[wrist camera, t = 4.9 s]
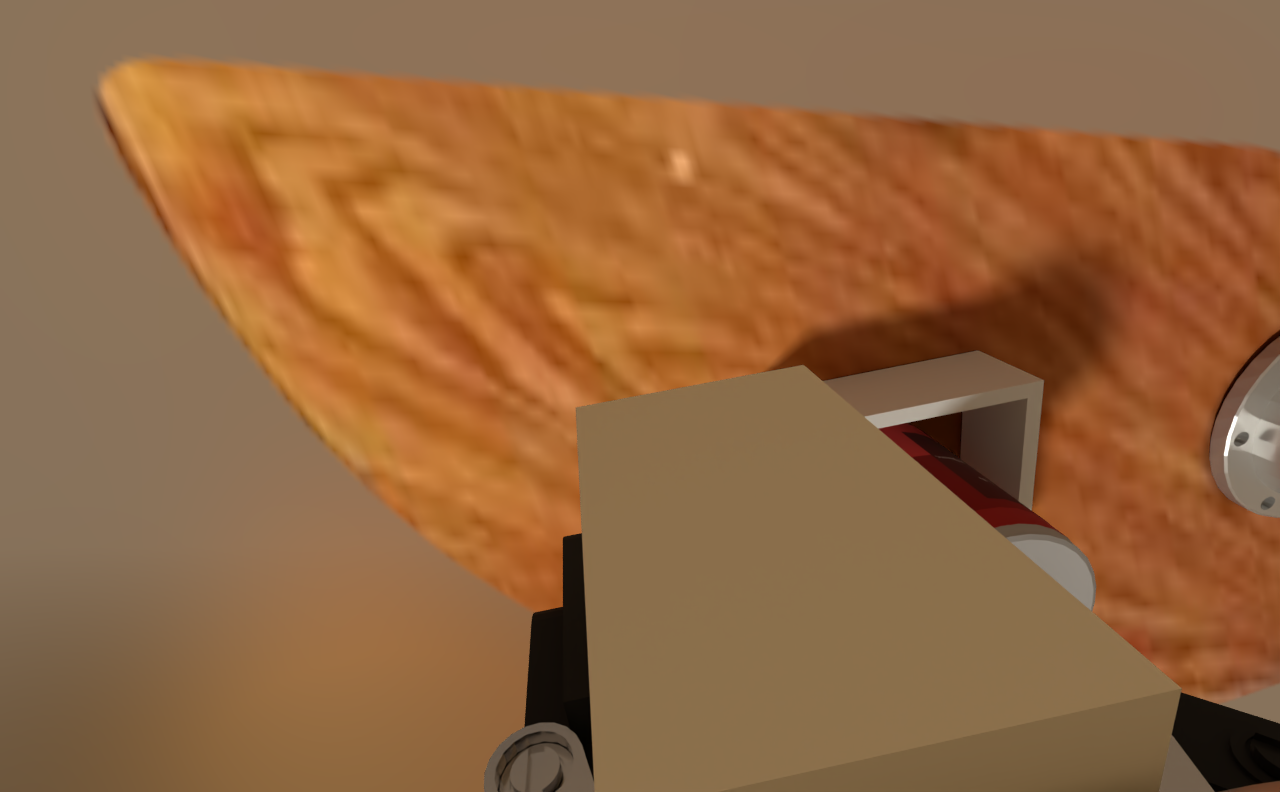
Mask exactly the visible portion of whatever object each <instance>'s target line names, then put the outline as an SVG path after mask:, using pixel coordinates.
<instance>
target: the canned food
mask: <svg viewBox="0 0 1280 792" xmlns="http://www.w3.org/2000/svg"><path fill="white" fill-rule="evenodd" d="M879 430H880V431H881V432H883V433H884V434H885V435H886V436H887V437H888V438H890V439H891V440H892V441H893V442H894V443H895V444H897V445H898V446H899V447H900V448H901V449H902V450H904V451H905V452H906V453H907V454H908V455H909V456H911V457H912V458H913V459H914V460H915V461H917V462H918V463H919V464H920V465H921V466H922V467H924V468H925V469H926V470H927V471H928V472H929V473H931V474H932V475H933V476H934V477H935V478H936V479H938V480H939V481H940V482H941V483H942V484H943V485H945V486H946V487H947V488H948V489H949V490H950V491H952V492H953V493H954V494H955V495H956V496H957V497H959V498H960V499H961V500H962V501H963V502H964V503H966V504H967V505H968V506H969V507H970V508H971V509H973V510H974V511H975V512H976V513H977V514H978V515H980V516H981V517H982V518H983V519H984V520H985V521H987V522H988V523H989V524H990V525H991V526H992V527H994V528H995V529H996V530H997V531H998V532H999V533H1001V534H1002V535H1003V536H1004V537H1005V538H1006V539H1008V540H1009V541H1010V542H1011V543H1012V544H1013V545H1015V546H1016V547H1017V548H1018V549H1019V550H1020V551H1022V552H1023V553H1024V554H1025V555H1026V556H1027V557H1029V558H1030V559H1031V560H1032V561H1033V562H1034V563H1036V564H1037V565H1038V566H1039V567H1040V568H1041V569H1043V570H1044V571H1045V572H1046V573H1047V574H1048V575H1050V576H1051V577H1052V578H1053V579H1054V580H1055V581H1057V582H1058V583H1059V584H1060V585H1061V586H1062V587H1064V588H1065V589H1066V590H1067V591H1068V592H1070V593H1071V594H1072V595H1073V596H1074V597H1075V598H1077V599H1078V600H1079V601H1080V602H1081V603H1082V604H1084V605H1085V606H1086V607H1087V608H1088V609H1089V610H1091V611H1092V610H1093V606H1094V603H1095V593H1096V583H1095V576H1094V571H1093V569H1092V567H1091V565H1090V562H1089V560H1088V558H1087V557H1086V556H1085V555H1084V554H1083V553H1082V552H1081V551H1080V549H1079V548H1078V547H1076V546H1075V545H1074V544H1073V543H1072V542H1071V541H1070V540H1069V539H1068V538H1067V537H1066V536H1065V535H1063V534H1062V533H1060V532H1059V531H1058V530H1056V529H1055V528H1054V527H1052V526H1051V525H1050V524H1049V523H1048V522H1046V521H1045V520H1044V519H1042V518H1041V517H1040V516H1038V515H1037V514H1036V513H1034V512H1033V511H1031V510H1030V509H1029V508H1027V507H1026V506H1025V505H1023V504H1022V503H1020V502H1019V501H1018V500H1016V499H1015V498H1014V497H1012V496H1011V495H1009V494H1008V493H1007V492H1005V491H1004V490H1003V489H1001V488H1000V487H998V486H997V485H996V484H994V483H993V482H992V481H990V480H989V479H987V478H986V477H985V476H983V475H982V474H981V473H979V472H978V471H976V470H975V469H974V468H972V467H971V466H969V465H968V464H967V463H965V462H964V461H963V460H961V459H960V458H958V457H957V456H956V455H954V454H953V453H952V452H950V451H949V450H947V449H946V448H945V447H943V446H942V445H941V444H939V443H938V442H936V441H935V440H934V439H932V438H931V437H930V436H928V435H927V434H925V433H924V432H923V431H921V430H919V429H918V428H916V427H915V426H913V425H910V424H907V423H903V424H899V425H894V426H889V427H884V428H879Z"/></svg>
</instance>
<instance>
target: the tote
mask: <svg viewBox="0 0 1280 792" xmlns="http://www.w3.org/2000/svg"><path fill="white" fill-rule="evenodd" d="M823 382H824V383H825V384H827V385H828V386H829V387H830V388H831V389H832V390H834V391H835V392H836V393H837V394H838V395H839V396H841V397H842V398H843V399H844V400H845V401H846V402H848V403H849V404H850V405H851V406H852V407H853V408H855V409H856V410H857V411H858V412H859V413H860V414H862V415H863V416H864V417H865V418H866V419H867V420H869V421H870V422H871V423H872V424H873V425H874V426H876V427H877V428H878V429H879V428H884V427H889V426H894V425H899V424H903V423H908V422H913V421H918V420H923V419H928V418H933V417H938V416H943V415H947V414H952V413H957V412H962V431H961V453H960V459H961V460H963V461H964V462H965V463H967V464H968V465H969V466H971V467H972V468H974V469H975V470H976V471H978V472H979V473H981V474H982V475H983V476H985V477H986V478H987V479H989V480H990V481H992V482H993V483H994V484H996V485H997V486H998V487H1000V488H1001V489H1003V490H1004V491H1005V492H1007V493H1008V494H1009V495H1011V496H1012V497H1014V498H1015V499H1016V500H1018V501H1019V502H1020V503H1022V504H1023V505H1025V506H1026V507H1027V508H1029V509H1030V510H1031V511H1032V500H1033V490H1034V480H1035V469H1036V459H1037V449H1038V438H1039V428H1040V418H1041V407H1042V397H1043V387H1044V380H1042V379H1040V378H1038V377H1036V376H1034V375H1031V374H1029V373H1027V372H1025V371H1023V370H1020V369H1018V368H1016V367H1014V366H1012V365H1009V364H1007V363H1005V362H1003V361H1001V360H998V359H996V358H994V357H992V356H990V355H987V354H985V353H983V352H981V351H979V350H977V351H972V352H967V353H962V354H957V355H952V356H947V357H942V358H937V359H932V360H927V361H922V362H917V363H912V364H907V365H901V366H896V367H891V368H886V369H881V370H876V371H871V372H866V373H861V374H856V375H851V376H846V377H841V378H836V379H831V380H826V381H823Z"/></svg>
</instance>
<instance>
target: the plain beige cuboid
mask: <svg viewBox="0 0 1280 792" xmlns="http://www.w3.org/2000/svg"><path fill="white" fill-rule="evenodd" d="M576 423H577V444H578V464H579V484H580V505H581V525H582V546H583V566H584V586H585V607H586V627H587V647H588V668H589V688H590V708H591V729H592V749H593V769H594V790H595V792H1159V789H1160V784H1161V780H1162V775H1163V771H1164V766H1165V762H1166V757H1167V753H1168V748H1169V744H1170V739H1171V735H1172V730H1173V726H1174V721H1175V717H1176V712H1177V708H1178V703H1179V699H1180V694H1181V690H1182V688H1180V687H1179V686H1178V685H1177V684H1176V683H1175V682H1173V681H1172V680H1171V679H1170V678H1169V677H1168V676H1166V675H1165V674H1164V673H1163V672H1162V671H1161V670H1159V669H1158V668H1157V667H1156V666H1155V665H1154V664H1152V663H1151V662H1150V661H1149V660H1148V659H1147V658H1145V657H1144V656H1143V655H1142V654H1141V653H1140V652H1138V651H1137V650H1136V649H1135V648H1134V647H1133V646H1131V645H1130V644H1129V643H1128V642H1127V641H1126V640H1124V639H1123V638H1122V637H1121V636H1120V635H1119V634H1117V633H1116V632H1115V631H1114V630H1113V629H1112V628H1110V627H1109V626H1108V625H1107V624H1106V623H1105V622H1103V621H1102V620H1101V619H1100V618H1099V617H1098V616H1096V615H1095V614H1094V613H1093V612H1092V611H1091V610H1089V609H1088V608H1087V607H1086V606H1085V605H1084V604H1082V603H1081V602H1080V601H1079V600H1078V599H1077V598H1075V597H1074V596H1073V595H1072V594H1071V593H1070V592H1068V591H1067V590H1066V589H1065V588H1064V587H1062V586H1061V585H1060V584H1059V583H1058V582H1057V581H1055V580H1054V579H1053V578H1052V577H1051V576H1050V575H1048V574H1047V573H1046V572H1045V571H1044V570H1043V569H1041V568H1040V567H1039V566H1038V565H1037V564H1036V563H1034V562H1033V561H1032V560H1031V559H1030V558H1029V557H1027V556H1026V555H1025V554H1024V553H1023V552H1022V551H1020V550H1019V549H1018V548H1017V547H1016V546H1015V545H1013V544H1012V543H1011V542H1010V541H1009V540H1008V539H1006V538H1005V537H1004V536H1003V535H1002V534H1001V533H999V532H998V531H997V530H996V529H995V528H994V527H992V526H991V525H990V524H989V523H988V522H987V521H985V520H984V519H983V518H982V517H981V516H980V515H978V514H977V513H976V512H975V511H974V510H973V509H971V508H970V507H969V506H968V505H967V504H966V503H964V502H963V501H962V500H961V499H960V498H959V497H957V496H956V495H955V494H954V493H953V492H952V491H950V490H949V489H948V488H947V487H946V486H945V485H943V484H942V483H941V482H940V481H939V480H938V479H936V478H935V477H934V476H933V475H932V474H931V473H929V472H928V471H927V470H926V469H925V468H924V467H922V466H921V465H920V464H919V463H918V462H917V461H915V460H914V459H913V458H912V457H911V456H909V455H908V454H907V453H906V452H905V451H904V450H902V449H901V448H900V447H899V446H898V445H897V444H895V443H894V442H893V441H892V440H891V439H890V438H888V437H887V436H886V435H885V434H884V433H883V432H881V431H880V430H879V429H878V428H877V427H876V426H874V425H873V424H872V423H871V422H870V421H869V420H867V419H866V418H865V417H864V416H863V415H862V414H860V413H859V412H858V411H857V410H856V409H855V408H853V407H852V406H851V405H850V404H849V403H848V402H846V401H845V400H844V399H843V398H842V397H841V396H839V395H838V394H837V393H836V392H835V391H834V390H832V389H831V388H830V387H829V386H828V385H827V384H825V383H824V382H823V381H822V380H821V379H820V378H818V377H817V376H816V375H815V374H814V373H813V372H811V371H810V370H809V369H808V368H807V367H806V366H804V365H800V366H794V367H789V368H784V369H778V370H773V371H768V372H762V373H757V374H752V375H747V376H741V377H736V378H731V379H725V380H720V381H715V382H709V383H704V384H699V385H693V386H688V387H683V388H678V389H672V390H667V391H662V392H656V393H651V394H646V395H640V396H635V397H630V398H624V399H619V400H614V401H609V402H603V403H598V404H593V405H587V406H582V407H577V408H576Z"/></svg>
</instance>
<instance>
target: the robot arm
mask: <svg viewBox="0 0 1280 792" xmlns="http://www.w3.org/2000/svg"><path fill="white" fill-rule="evenodd" d="M1210 464H1211V470H1212V475H1213V477H1214V479H1215V481H1216V484H1217V486H1218V488H1219V489H1220V490H1221V491H1222V492H1223V493H1224V495H1225V496H1226V497H1227V498H1228V499H1230V500H1232V501H1233V502H1235V503H1236V504H1238V505H1240V506H1242V507H1244V508H1246V509H1248V510H1250V511H1252V512H1254V513H1256V514H1259V515H1263V516H1269V517H1275V518H1280V336H1279V337H1278V338H1277V339H1276V340H1274V341H1273V342H1272V343H1270V344H1269V345H1268V346H1267V347H1266V348H1265V349H1264V350H1263V351H1262V352H1261V353H1260V354H1259V355H1258V356H1257V357H1256V358H1255V359H1254V360H1253V361H1252V362H1251V363H1250V364H1249V365H1248V367H1247V368H1246V369H1245V370H1244V371H1243V373H1242V374H1241V375H1240V376H1239V378H1238V379H1237V380H1236V382H1235V383H1234V385H1233V387H1232V388H1231V390H1230V392H1229V393H1228V395H1227V396H1226V398H1225V400H1224V402H1223V404H1222V406H1221V409H1220V411H1219V413H1218V416H1217V418H1216V420H1215V424H1214V428H1213V432H1212V436H1211V442H1210ZM528 670H529V671H528V684H527V698H526V713H525V727H524V728H522V729H520V730H519V731H517V732H515V733H513V734H511V735H510V736H509V737H508V738H507V739H506V740H505V741H504V742H502V743H501V744H500V745H499V746H498V748H497V749H496V751H495V752H494V753H493V755H492V756H491V758H490V760H489V762H488V765H487V768H486V771H485V776H484V777H485V778H484V791H485V792H595V790H594V769H593V749H592V729H591V708H590V688H589V668H588V647H587V627H586V607H585V586H584V566H583V546H582V533H581V534H576V535H571V536H566V537H563V607H560V608H555V609H550V610H545V611H540V612H535V613H534V614H533V616H532V624H531V639H530V654H529V669H528ZM1159 792H1280V724H1279V723H1276V722H1273V721H1270V720H1266V719H1263V718H1260V717H1257V716H1254V715H1250V714H1247V713H1244V712H1241V711H1238V710H1235V709H1232V708H1229V707H1225V706H1222V705H1219V704H1216V703H1213V702H1210V701H1206V700H1203V699H1200V698H1197V697H1194V696H1191V695H1187V694H1184V693H1181V694H1180V699H1179V703H1178V708H1177V712H1176V717H1175V721H1174V726H1173V730H1172V735H1171V739H1170V744H1169V748H1168V753H1167V757H1166V762H1165V766H1164V771H1163V775H1162V780H1161V784H1160V789H1159Z"/></svg>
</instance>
